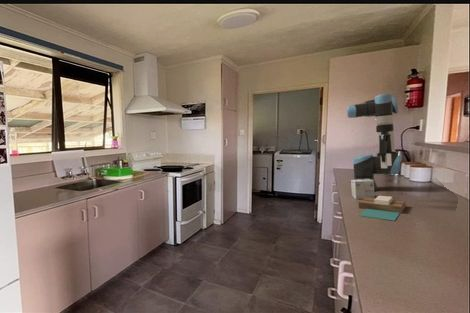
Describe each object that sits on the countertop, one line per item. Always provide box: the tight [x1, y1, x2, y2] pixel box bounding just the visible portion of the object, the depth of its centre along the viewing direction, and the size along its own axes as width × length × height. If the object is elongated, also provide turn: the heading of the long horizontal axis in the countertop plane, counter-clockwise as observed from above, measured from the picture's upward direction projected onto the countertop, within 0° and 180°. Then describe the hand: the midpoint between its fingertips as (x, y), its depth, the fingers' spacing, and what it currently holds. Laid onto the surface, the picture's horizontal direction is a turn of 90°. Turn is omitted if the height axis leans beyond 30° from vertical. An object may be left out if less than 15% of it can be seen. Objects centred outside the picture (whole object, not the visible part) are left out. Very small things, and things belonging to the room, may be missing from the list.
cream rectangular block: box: [374, 195, 394, 205], centre depth 116 cm, size 9×6×2 cm, turn 136°
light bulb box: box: [350, 179, 376, 200], centre depth 138 cm, size 11×7×11 cm, turn 84°
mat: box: [358, 209, 401, 222], centre depth 108 cm, size 12×14×1 cm
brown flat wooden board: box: [358, 197, 407, 214], centre depth 117 cm, size 12×18×3 cm, turn 46°
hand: (386, 166), depth 123 cm, fingers open, 9 cm apart
